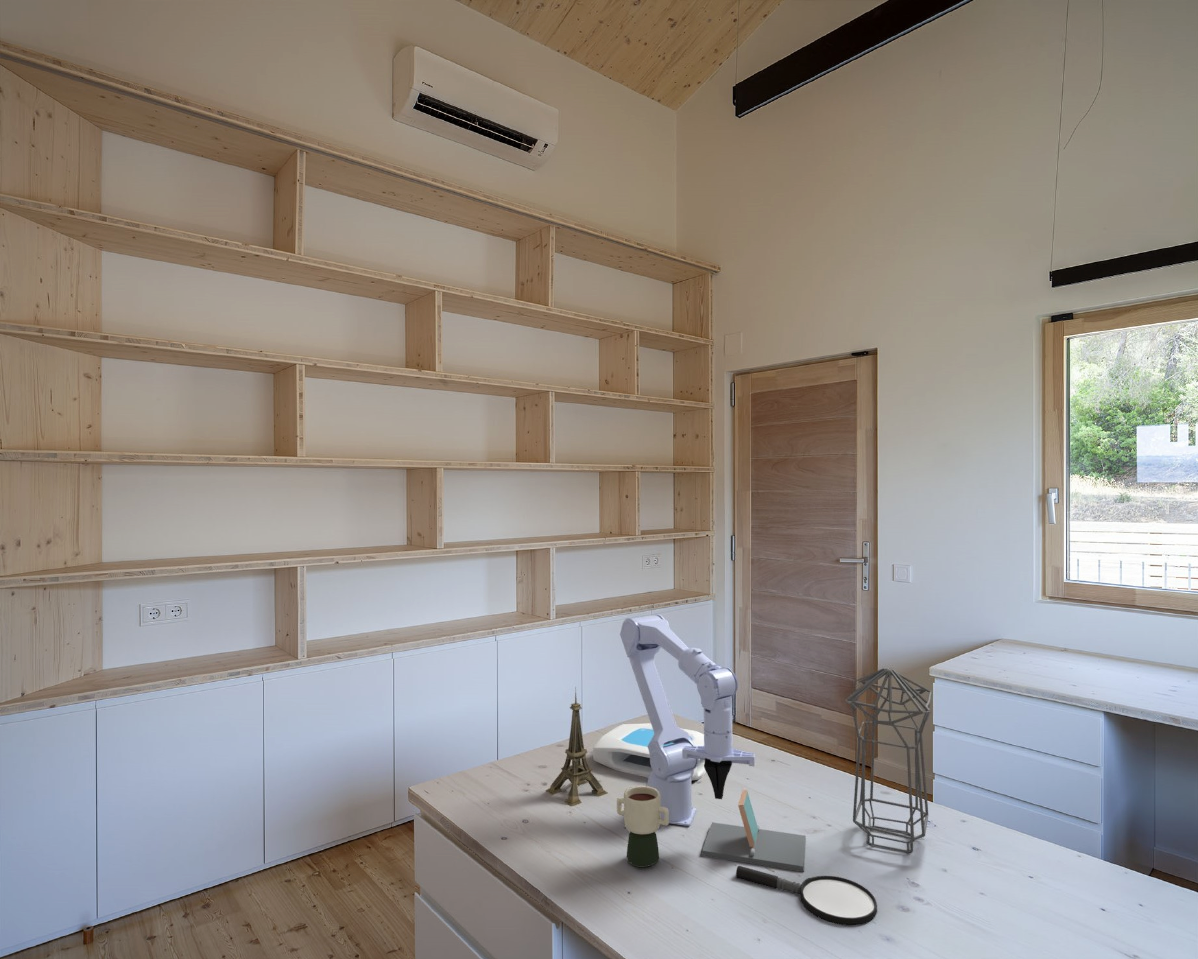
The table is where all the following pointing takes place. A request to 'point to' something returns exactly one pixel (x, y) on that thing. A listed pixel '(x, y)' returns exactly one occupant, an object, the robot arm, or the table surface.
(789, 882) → the magnifying glass
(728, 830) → the mat
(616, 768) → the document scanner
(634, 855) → the character mug
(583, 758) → the eiffel tower
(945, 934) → the table surface
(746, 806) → the tile
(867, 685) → the geometric lantern
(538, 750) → the table surface
